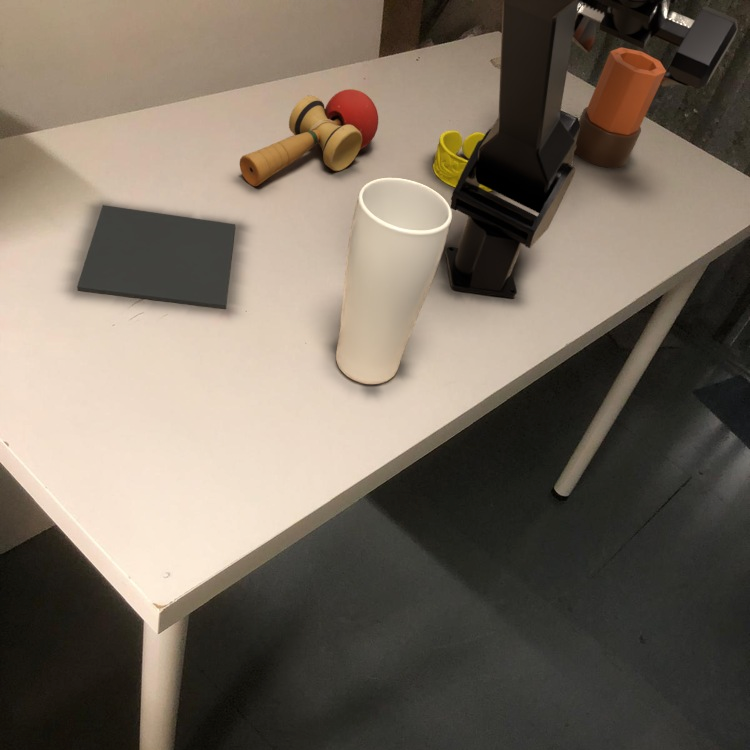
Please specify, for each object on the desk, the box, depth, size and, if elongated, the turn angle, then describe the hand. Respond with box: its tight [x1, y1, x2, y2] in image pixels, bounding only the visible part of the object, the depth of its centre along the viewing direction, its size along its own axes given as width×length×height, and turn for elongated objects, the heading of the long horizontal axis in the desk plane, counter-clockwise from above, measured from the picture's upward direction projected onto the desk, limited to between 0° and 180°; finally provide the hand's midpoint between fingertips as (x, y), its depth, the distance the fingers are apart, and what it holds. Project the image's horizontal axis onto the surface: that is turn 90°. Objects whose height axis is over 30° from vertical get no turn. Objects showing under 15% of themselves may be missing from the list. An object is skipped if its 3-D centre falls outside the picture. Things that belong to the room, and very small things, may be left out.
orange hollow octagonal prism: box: [586, 47, 667, 135], centre depth 90 cm, size 6×6×7 cm
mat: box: [76, 204, 236, 310], centre depth 66 cm, size 12×12×1 cm
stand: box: [574, 106, 642, 169], centre depth 92 cm, size 8×8×8 cm
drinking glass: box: [335, 177, 453, 385], centre depth 57 cm, size 7×7×15 cm
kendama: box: [239, 88, 379, 187], centre depth 79 cm, size 8×6×18 cm
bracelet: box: [432, 130, 493, 192], centre depth 84 cm, size 7×8×3 cm
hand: (626, 65), depth 82 cm, fingers open, 9 cm apart
